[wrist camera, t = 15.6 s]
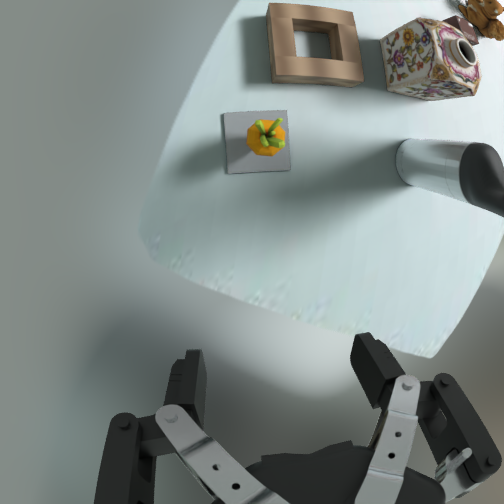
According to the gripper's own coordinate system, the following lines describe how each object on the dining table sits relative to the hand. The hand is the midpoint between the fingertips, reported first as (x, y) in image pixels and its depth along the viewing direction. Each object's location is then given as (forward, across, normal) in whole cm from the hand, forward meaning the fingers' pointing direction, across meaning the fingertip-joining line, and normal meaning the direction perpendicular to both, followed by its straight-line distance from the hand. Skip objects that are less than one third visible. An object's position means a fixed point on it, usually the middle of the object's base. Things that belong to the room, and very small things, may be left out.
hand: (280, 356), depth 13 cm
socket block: (+34, -12, -29) cm, 46 cm away
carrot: (+34, -2, -12) cm, 36 cm away
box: (+34, -48, -43) cm, 72 cm away
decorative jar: (+34, -32, -28) cm, 54 cm away
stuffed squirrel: (+34, -62, -55) cm, 90 cm away
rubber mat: (+34, -2, -12) cm, 36 cm away
